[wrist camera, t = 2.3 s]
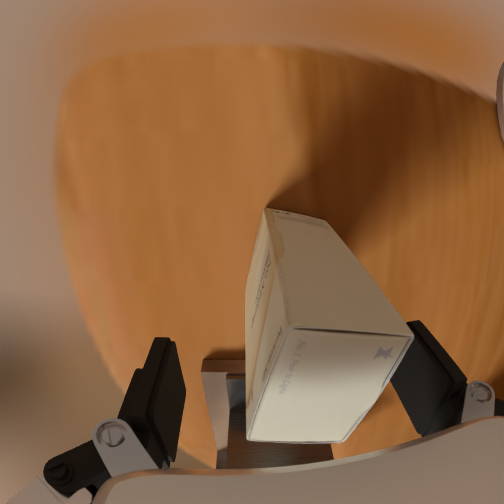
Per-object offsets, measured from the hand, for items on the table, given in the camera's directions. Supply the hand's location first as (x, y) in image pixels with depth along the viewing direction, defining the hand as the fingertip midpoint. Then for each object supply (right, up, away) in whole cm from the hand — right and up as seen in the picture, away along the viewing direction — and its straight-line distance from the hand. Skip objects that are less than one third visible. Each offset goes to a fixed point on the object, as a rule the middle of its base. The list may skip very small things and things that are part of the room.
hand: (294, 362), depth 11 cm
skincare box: (+1, +4, +9) cm, 10 cm away
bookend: (0, -7, +12) cm, 14 cm away
